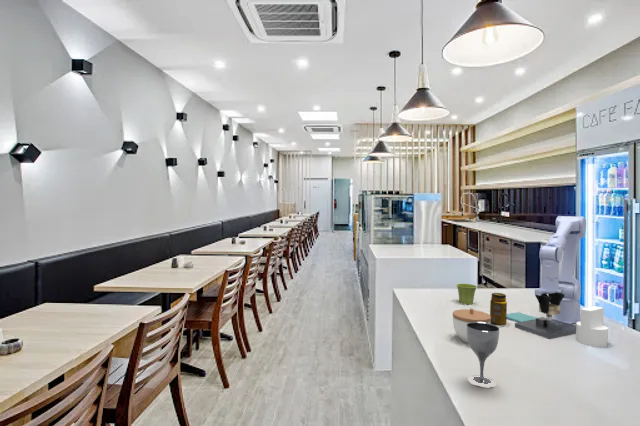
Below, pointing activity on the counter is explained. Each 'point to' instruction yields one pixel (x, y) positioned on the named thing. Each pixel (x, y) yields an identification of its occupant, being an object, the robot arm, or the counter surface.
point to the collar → (552, 309)
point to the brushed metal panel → (547, 327)
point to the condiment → (498, 309)
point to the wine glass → (482, 343)
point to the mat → (520, 317)
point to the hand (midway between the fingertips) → (549, 312)
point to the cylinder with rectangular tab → (592, 328)
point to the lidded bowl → (467, 320)
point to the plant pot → (466, 293)
